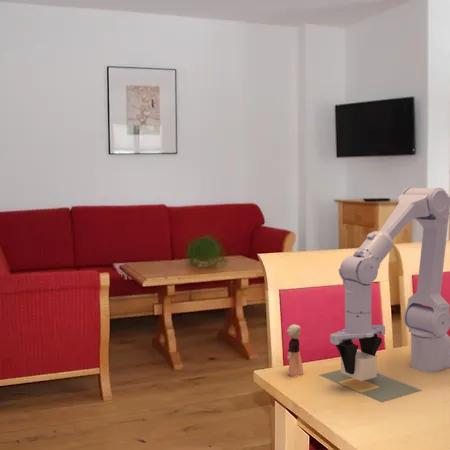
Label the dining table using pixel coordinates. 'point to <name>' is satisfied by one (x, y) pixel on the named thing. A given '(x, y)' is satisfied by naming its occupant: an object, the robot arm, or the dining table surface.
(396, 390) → the baseplate
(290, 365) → the grandmother figurine
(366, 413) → the dining table surface
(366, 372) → the cream brick
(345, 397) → the dining table surface
